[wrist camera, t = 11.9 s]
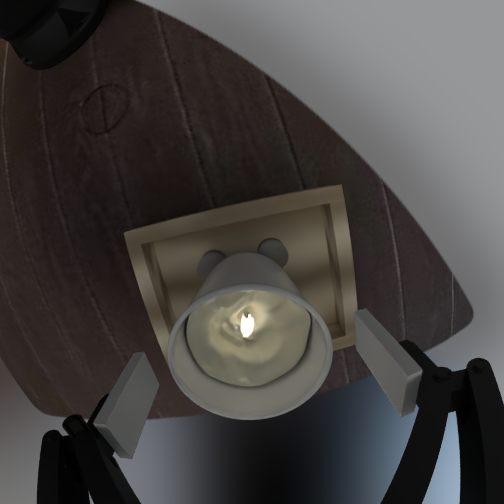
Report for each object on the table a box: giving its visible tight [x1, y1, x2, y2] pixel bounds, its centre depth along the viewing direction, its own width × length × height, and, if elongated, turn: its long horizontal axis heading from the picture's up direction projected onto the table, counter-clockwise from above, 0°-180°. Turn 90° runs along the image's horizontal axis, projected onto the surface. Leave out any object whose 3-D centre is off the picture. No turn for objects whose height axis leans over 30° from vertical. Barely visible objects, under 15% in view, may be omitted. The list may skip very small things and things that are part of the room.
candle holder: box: [167, 252, 333, 420], centre depth 21 cm, size 10×10×12 cm
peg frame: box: [124, 185, 357, 369], centre depth 28 cm, size 17×21×4 cm
